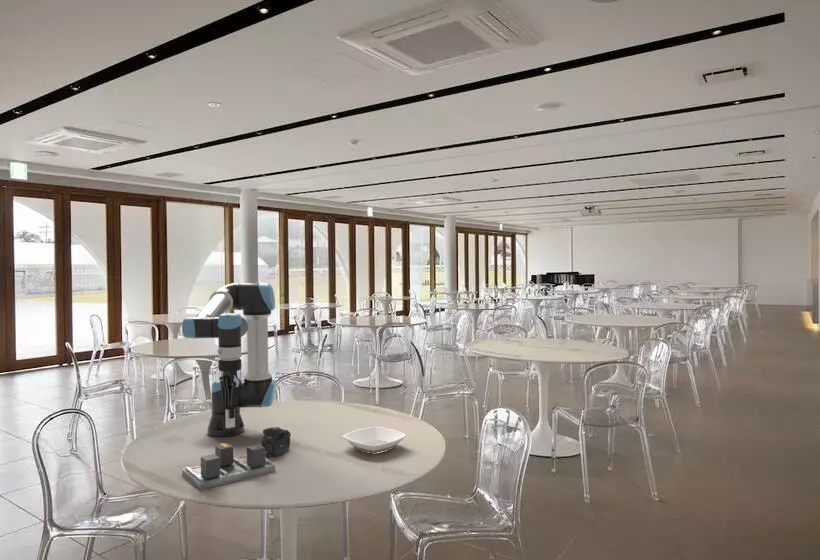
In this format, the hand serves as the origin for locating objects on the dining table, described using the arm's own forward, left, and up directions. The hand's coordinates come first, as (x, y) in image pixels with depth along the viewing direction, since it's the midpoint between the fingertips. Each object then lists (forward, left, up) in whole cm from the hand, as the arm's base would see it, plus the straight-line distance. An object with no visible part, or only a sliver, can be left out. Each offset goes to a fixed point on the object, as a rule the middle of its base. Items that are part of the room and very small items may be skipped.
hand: (230, 427), depth 191 cm
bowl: (+10, +54, -17) cm, 58 cm away
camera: (-11, +22, -16) cm, 30 cm away
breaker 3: (+3, +8, -14) cm, 16 cm away
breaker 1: (+3, -8, -14) cm, 16 cm away
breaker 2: (-5, 0, -14) cm, 15 cm away
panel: (-1, 0, -16) cm, 16 cm away
